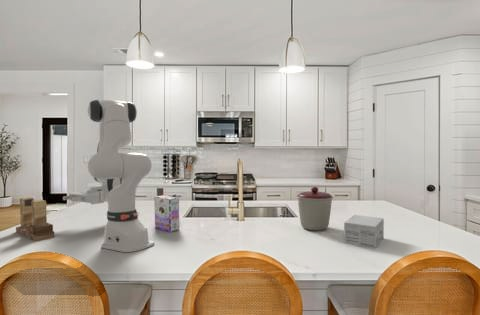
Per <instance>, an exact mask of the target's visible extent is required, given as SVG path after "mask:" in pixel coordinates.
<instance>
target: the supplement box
mask: <svg viewBox="0 0 480 315" xmlns="http://www.w3.org/2000/svg"><path fill="white" fill-rule="evenodd" d="M384 220H385V219H384V218H383V217H374V216H366V215H359V214H354V215H353V216H351V217H349V219H347V220H346V221H344V224H343V230H344V231H343V235H344V236H343V241H344V242H343V244H348V245H354V246H360V247H366V248H371V249H376V248H377V247H378V246H379V245H380V243H381V242H382V241H383V239H384V234H385V233H384V226H385V225H384V223H385V222H384Z"/></svg>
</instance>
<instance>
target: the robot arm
mask: <svg viewBox="0 0 480 315" xmlns="http://www.w3.org/2000/svg"><path fill="white" fill-rule="evenodd" d="M87 113H88V114H87V115H88V116H89V119H90V121H92V122H95V123H99V140H98V144H97V149H96V150H97V151H96V153H95V154H94V155H92V156H91V157H90V159H89V161H88V162H87V163H88V164H87V169H88V172H89V174H90V176H92V177H93V179H94V181H95V182H97V183H99V184H101V186H95V187H90V188H89V190H87V191H77V192H70V193H69V192H68V195H65V196H63V197H62V200H63V201H67V200H69V201H71V202H73V203H74V202H79V203H87V204H91V205H98V204H104V203H107V211H106V219H107V223H106V225H105V226H104V232H103V233H104V234H103V243H101V246H100V247H101V248H102V249H107V250H111V251H116V252H117V251H118V252H122V253H132V252H138V251H141V250H144V249H147V248H150V247H152V246H155V241H153V240H151V239H150V238H149V232H148V227H146V226H144V224H143V223H142V222H141V221H140V220H139V212H138V211H137V208H136V196H137V195H136V193H137V189H138V188H139V185H140V183H141V182H142V181H143V179H144V178H145V177H146V176H148V175H149V174H150V172H151V170H152V167H153V166H152V160H151V158H150V157H149V155H147V154H145V153H139V152H138V153H137V152H119V151H120V150H122V149H124V148H126V147H127V146H128V145H129V144H130V143H131V142H132V132H131V123H133V122H135V121H136V118H137V114H138V110H137V108H136V105H135V103H134V102H131V101H121V100H113V99H101V100H99V99H95V100H91V101H90V102H89V104H88V107H87Z"/></svg>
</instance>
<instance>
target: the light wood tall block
mask: <svg viewBox="0 0 480 315" xmlns="http://www.w3.org/2000/svg"><path fill="white" fill-rule="evenodd" d="M31 204H32V226H33V227H40V226H45V225H47V223H48V222H47V221H48V219H47V201H46V200H44V199H39V200H38V199H37V200H34V201H31Z"/></svg>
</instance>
